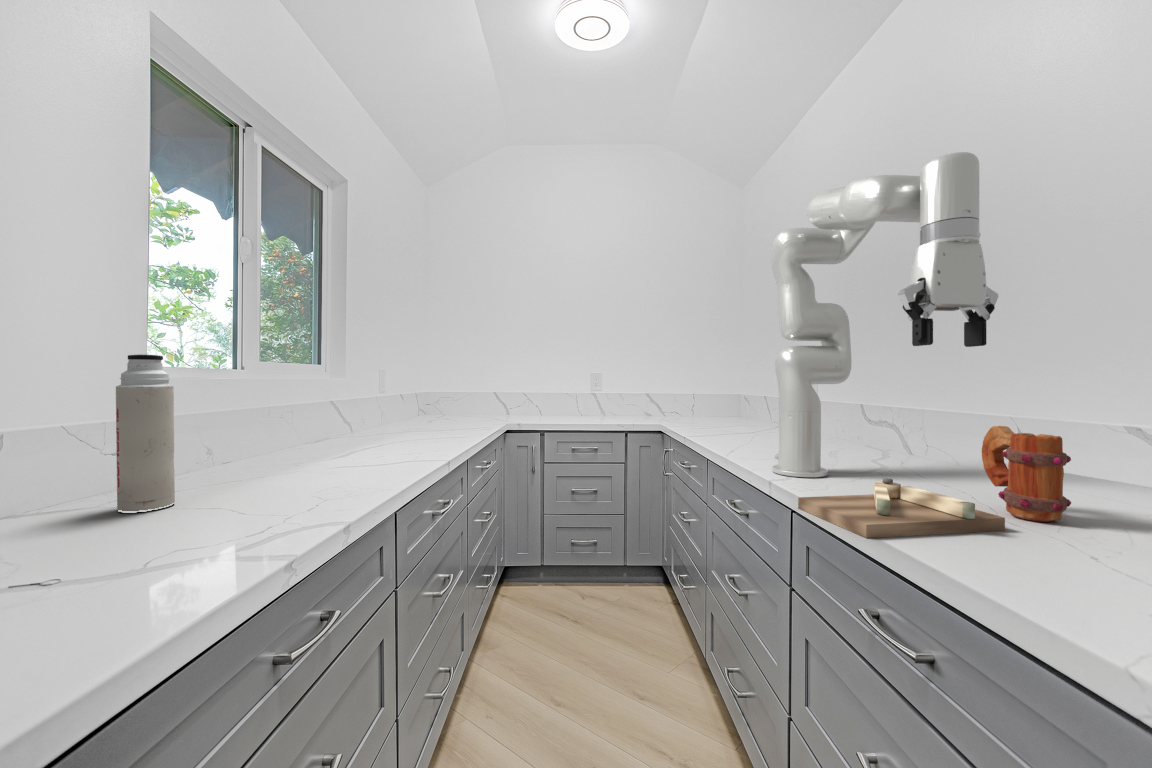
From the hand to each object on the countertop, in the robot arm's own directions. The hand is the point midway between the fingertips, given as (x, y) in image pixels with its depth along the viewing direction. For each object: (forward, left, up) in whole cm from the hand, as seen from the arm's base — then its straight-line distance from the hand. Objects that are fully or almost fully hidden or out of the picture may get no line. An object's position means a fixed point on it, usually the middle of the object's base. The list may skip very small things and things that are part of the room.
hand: (949, 345), depth 79 cm
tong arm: (-7, -4, -27) cm, 28 cm away
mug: (-5, +20, -29) cm, 35 cm away
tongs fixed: (-5, +1, -27) cm, 27 cm away
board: (-6, -4, -29) cm, 30 cm away
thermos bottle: (-33, -134, -29) cm, 141 cm away
